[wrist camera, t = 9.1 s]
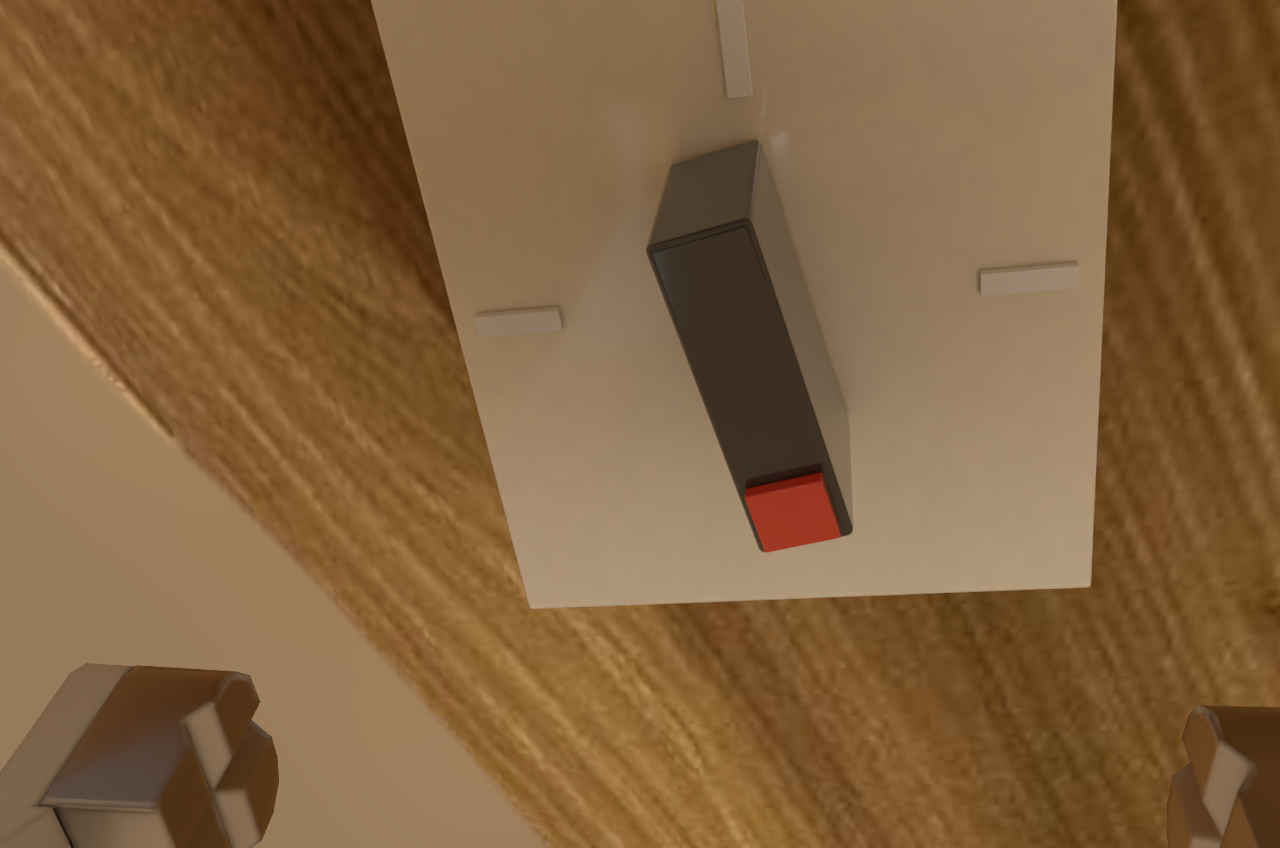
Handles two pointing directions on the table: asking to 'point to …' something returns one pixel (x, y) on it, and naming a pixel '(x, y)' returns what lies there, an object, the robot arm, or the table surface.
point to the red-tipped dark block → (754, 345)
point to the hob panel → (828, 256)
